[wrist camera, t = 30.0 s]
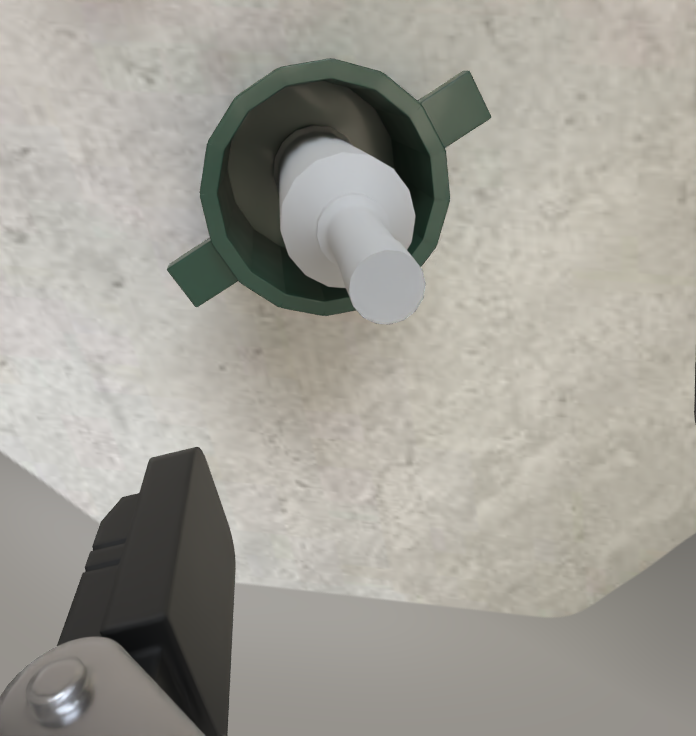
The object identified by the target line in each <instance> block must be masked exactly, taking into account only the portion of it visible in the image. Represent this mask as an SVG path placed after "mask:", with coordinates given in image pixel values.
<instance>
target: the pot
mask: <svg viewBox="0 0 696 736" xmlns="http://www.w3.org/2000/svg"><path fill="white" fill-rule="evenodd" d="M490 118H491V115H490V113H489V111H488V108H487V106H486V104H485V102H484V100H483V98H482V96H481V94H480V92H479V90H478V87H477V85H476V83H475V81H474V79H473V77H472V75H471V73H470V71H462V72H461V73H459V74H458V75H456V76H455V77H453V78H451V79H450V80H448V81H447V82H445V83H444V84H442V85H441V86H439V87H438V88H436V89H435V90H433V91H432V92H430V93H429V94H427V95H426V96H424V97H423V98H421V99H420V100H418V101H417V100H416V99H415V98H413V97H412V96H411V95H410V94H409V93H407V92H406V91H405V90H404V89H403V88H401V87H400V86H399V85H398V84H396V83H395V82H394V81H393V80H392V79H390V78H389V77H388V76H387V75H386V74H384V73H382V72H381V71H377V70H373V69H370V68H366V67H362V66H359V65H355V64H351V63H348V62H344V61H340V60H337V59H331V58H330V59H324V60H318V61H312V62H306V63H301V64H295V65H289V66H283V67H279V68H277V69H275V70H273V71H272V72H271V73H269V74H268V75H266V76H265V77H263V78H262V79H260V80H259V81H257V82H256V83H254V84H253V85H251V86H250V87H249V88H247V89H246V90H244V91H243V92H241V93H240V94H239V95H238V96H236V98H234V100H233V102H232V103H231V105H230V106H229V108H228V110H227V111H226V113H225V115H224V116H223V118H222V119H221V121H220V123H219V124H218V126H217V127H216V129H215V131H214V132H213V134H212V136H211V137H210V139H209V140H208V143H207V147H206V154H205V160H204V167H203V174H202V180H201V187H200V199H201V203H202V207H203V211H204V215H205V219H206V223H207V228H208V232H209V236H210V238H208V239H207V240H205V241H204V242H202V243H201V244H199V245H198V246H196V247H194V248H193V249H191V250H190V251H188V252H187V253H185V254H184V255H182V256H181V257H179V258H178V259H176V260H175V261H173V262H172V263H170V264H169V266H168V268H167V271H168V272H169V273H170V275H171V276H172V277H173V279H174V280H175V281H176V282H177V284H178V285H179V286H180V288H181V289H182V290H183V292H184V293H185V294H186V295H187V297H188V298H189V299H190V301H191V302H192V303H193V305H194V306H195V307H199V306H200V305H202V304H203V303H205V302H206V301H208V300H209V299H211V298H213V297H214V296H216V295H217V294H219V293H220V292H222V291H223V290H225V289H227V288H228V287H230V286H231V285H233V284H234V283H236V282H237V281H239V282H240V283H241V284H243V285H244V286H246V287H247V288H249V289H251V290H252V291H254V292H255V293H257V294H258V295H260V296H262V297H263V298H265V299H266V300H268V301H270V302H271V303H273V304H274V305H276V306H277V307H280V308H284V309H289V310H294V311H300V312H305V313H310V314H316V315H321V316H324V315H325V316H329V315H334V314H339V313H345V312H350V311H355V310H356V309H355V308H354V307H353V305H352V302H351V300H350V297H349V295H348V292H347V290H346V288H338V287H328V286H326V285H324V284H322V283H320V282H318V281H316V280H314V279H312V278H310V277H308V276H306V275H305V274H304V273H303V272H302V271H301V269H300V268H299V267H298V266H297V265H296V264H295V262H294V261H293V260H292V259H291V258H290V257H289V255H288V252H287V249H286V246H285V243H284V240H283V237H282V234H281V231H280V204H279V192H278V189H277V186H276V183H275V180H274V177H273V176H274V161H275V156H276V154H277V152H278V150H279V148H280V146H281V144H282V142H283V141H284V140H285V139H286V138H288V137H289V136H290V135H291V134H292V133H293V132H294V131H296V130H298V129H302V128H305V127H308V126H311V125H316V126H325V127H331V128H332V129H334V130H336V131H338V132H339V133H341V134H343V135H345V136H346V137H347V138H348V139H349V141H350V142H351V143H352V145H353V146H354V147H356V148H358V149H360V150H361V151H363V152H365V153H367V154H369V155H370V156H372V157H374V158H376V159H377V160H379V161H381V162H383V163H384V164H386V165H388V166H390V167H391V168H393V169H394V170H395V172H396V173H397V174H398V176H399V177H400V178H401V180H402V181H403V182H404V184H405V185H406V186H407V188H408V189H409V191H410V195H411V200H412V204H413V208H414V212H415V223H414V229H413V236H412V242H411V244H410V246H409V247H408V249H407V251H408V252H409V253H410V255H411V256H412V257H413V258H414V259H415V261H416V262H417V263H418V265H419V266H420V267H421V266H422V265H423V264H424V262H425V261H426V260H427V258H428V257H429V256H430V254H431V253H432V252H433V250H434V249H435V248H436V246H437V243H438V240H439V237H440V233H441V230H442V226H443V223H444V219H445V216H446V213H447V209H448V206H449V202H450V191H449V180H448V169H447V158H446V151H445V147H447V146H449V145H450V144H452V143H453V142H455V141H456V140H458V139H459V138H461V137H463V136H464V135H466V134H467V133H469V132H470V131H472V130H473V129H475V128H477V127H478V126H480V125H481V124H483V123H484V122H486V121H487V120H489V119H490Z"/></svg>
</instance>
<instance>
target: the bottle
mask: <svg viewBox="0 0 696 736" xmlns="http://www.w3.org/2000/svg"><path fill="white" fill-rule="evenodd" d="M273 177H274V180H275V183H276V186H277V189H278V192H279V204H280V231H281V234H282V237H283V240H284V243H285V246H286V249H287V252H288V255H289V257H290V258H291V259H292V260H293V261H294V262H295V264H296V265H297V266H298V267H299V268H300V269H301V271H302V272H303V273H304V274H305V275H306V276H308V277H310V278H312V279H314V280H316V281H318V282H320V283H322V284H324V285H326V286H328V287H338V288H346V290H347V292H348V295H349V297H350V300H351V302H352V305H353V307H354V308H355V309H356V310H357V311H358V313H359V314H360V315H361V316H362V317H363V318H365V319H367V320H369V321H371V322H373V323H375V324H393V323H396V322H399V321H403V320H405V319H406V318H407V317H409V316H410V315H411V314H412V313H414V312H415V311H416V310H417V308H418V306H419V305H420V303H421V301H422V300H423V298H424V292H425V285H426V282H425V278H424V274H423V270H422V268H421V267H420V266H419V265H418V263H417V262H416V261H415V259H414V258H413V257H412V256H411V255H410V253H409V252H408V251H407V249H408V247H409V246H410V244H411V242H412V236H413V229H414V223H415V212H414V208H413V204H412V200H411V195H410V191H409V189H408V188H407V186H406V185H405V184H404V182H403V181H402V180H401V178H400V177H399V176H398V174H397V173H396V172H395V170H394V169H393V168H391V167H390V166H388V165H386V164H384V163H383V162H381V161H379V160H377V159H376V158H374V157H372V156H370V155H369V154H367V153H365V152H363V151H361V150H360V149H358V148H356V147H354V146H353V145H352V143H351V142H350V141H349V139H348V138H347V137H346V136H345V135H343V134H341V133H339V132H338V131H336V130H334V129H332V128H331V127H325V126H316V125H311V126H308V127H305V128H302V129H298V130H296V131H294V132H293V133H292V134H291V135H290V136H289V137H288V138H286V139H285V140H284V141H283V142H282V144H281V146H280V148H279V150H278V152H277V154H276V156H275V161H274V176H273Z"/></svg>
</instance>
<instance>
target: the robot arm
mask: <svg viewBox="0 0 696 736" xmlns="http://www.w3.org/2000/svg"><path fill="white" fill-rule="evenodd" d="M694 415H695V423H696V364H695V407H694ZM85 570H86V572H85V573H83V574H82V577H81V580H80V582H79V585H78V588H77V591H76V594H75V596H74V599H73V602H72V605H71V608H70V611H69V613H68V616H67V619H66V622H65V625H64V628H63V630H62V633H61V636H60V639H59V642H58V644H57V647H55V648H53V649H51V650H49V651H48V652H46V653H44V654H43V655H41V656H39V657H38V658H36V659H35V660H34V661H32V662H31V663H30V664H29V665H27V666H26V667H25V668H24V669H23V670H22V671H21V672H20V673H19V674H17V675H16V677H15V678H14V679H13V680H12V681H11V682H10V683H9V684H8V686H7V687H6V689H5V690H4V691H3V693H2V694H1V696H0V736H227V731H228V710H229V689H230V669H231V649H232V628H233V607H234V587H235V552H234V545H233V540H232V535H231V531H230V528H229V525H228V522H227V519H226V516H225V513H224V510H223V507H222V504H221V501H220V498H219V496H218V493H217V490H216V487H215V484H214V481H213V478H212V475H211V472H210V469H209V467H208V464H207V461H206V458H205V456H204V454H203V452H202V450H201V449H200V448H199V447H194V448H190V449H186V450H182V451H178V452H173V453H169V454H165V455H161V456H157V457H152V458H151V459H150V460H149V462H148V465H147V469H146V472H145V476H144V479H143V483H142V486H141V490H140V493H138V494H134V495H130V496H126V497H122V498H121V499H120V500H119V502H118V503H117V504H116V505H115V506H114V507H113V509H112V510H111V511H110V512H109V513H108V514H107V515H106V517H105V518H104V519H103V520H102V521H101V523H100V526H99V529H98V532H97V535H96V538H95V540H94V544H93V551H91V552H90V554H89V557H88V560H87V563H86V566H85Z"/></svg>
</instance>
